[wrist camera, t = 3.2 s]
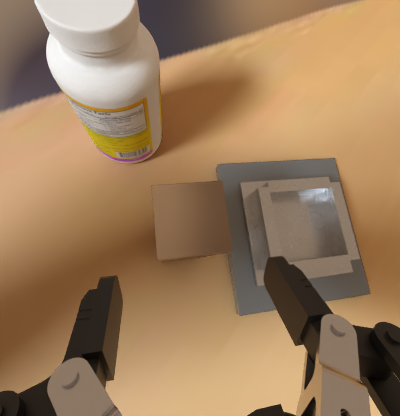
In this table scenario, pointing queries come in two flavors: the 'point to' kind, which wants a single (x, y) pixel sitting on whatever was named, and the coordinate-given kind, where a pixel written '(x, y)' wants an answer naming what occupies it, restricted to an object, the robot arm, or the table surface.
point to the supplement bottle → (107, 73)
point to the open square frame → (298, 226)
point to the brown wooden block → (190, 220)
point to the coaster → (240, 256)
